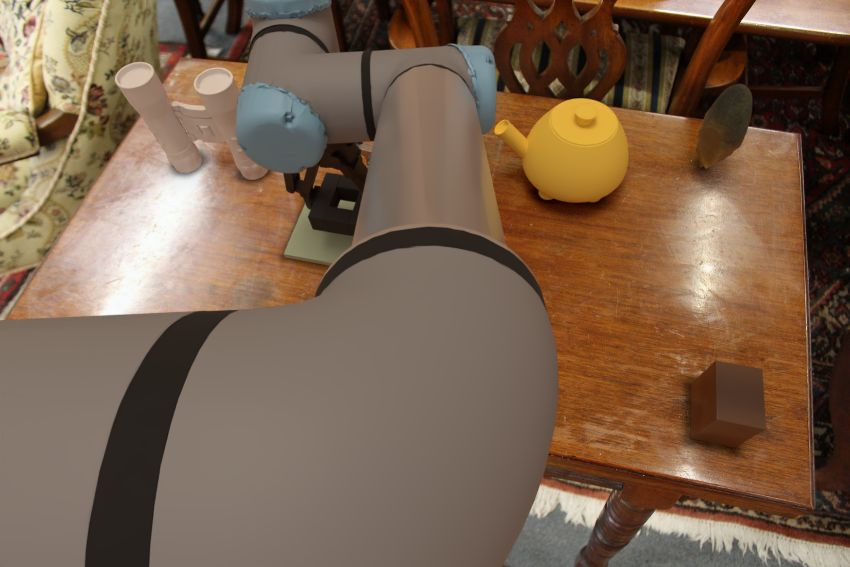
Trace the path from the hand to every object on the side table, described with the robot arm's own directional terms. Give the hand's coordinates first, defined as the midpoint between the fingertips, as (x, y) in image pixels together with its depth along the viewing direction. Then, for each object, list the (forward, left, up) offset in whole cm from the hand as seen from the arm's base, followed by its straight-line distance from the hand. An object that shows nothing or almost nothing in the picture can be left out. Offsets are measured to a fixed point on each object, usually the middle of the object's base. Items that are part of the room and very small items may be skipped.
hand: (351, 225), depth 82 cm
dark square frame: (0, 0, +3) cm, 3 cm away
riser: (-17, -51, -2) cm, 54 cm away
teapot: (+17, -28, -3) cm, 33 cm away
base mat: (0, 0, -2) cm, 2 cm away
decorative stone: (+23, -50, -3) cm, 55 cm away
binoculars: (+9, +26, -3) cm, 28 cm away
